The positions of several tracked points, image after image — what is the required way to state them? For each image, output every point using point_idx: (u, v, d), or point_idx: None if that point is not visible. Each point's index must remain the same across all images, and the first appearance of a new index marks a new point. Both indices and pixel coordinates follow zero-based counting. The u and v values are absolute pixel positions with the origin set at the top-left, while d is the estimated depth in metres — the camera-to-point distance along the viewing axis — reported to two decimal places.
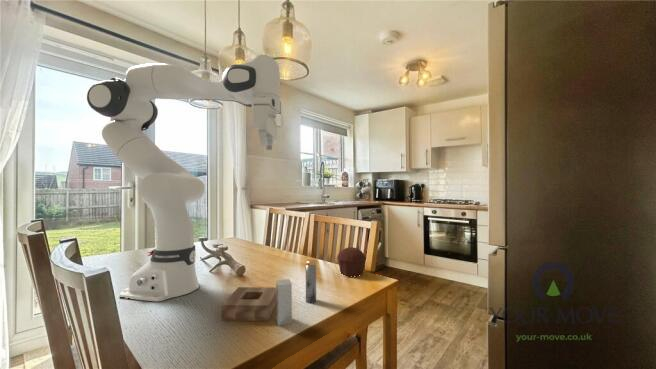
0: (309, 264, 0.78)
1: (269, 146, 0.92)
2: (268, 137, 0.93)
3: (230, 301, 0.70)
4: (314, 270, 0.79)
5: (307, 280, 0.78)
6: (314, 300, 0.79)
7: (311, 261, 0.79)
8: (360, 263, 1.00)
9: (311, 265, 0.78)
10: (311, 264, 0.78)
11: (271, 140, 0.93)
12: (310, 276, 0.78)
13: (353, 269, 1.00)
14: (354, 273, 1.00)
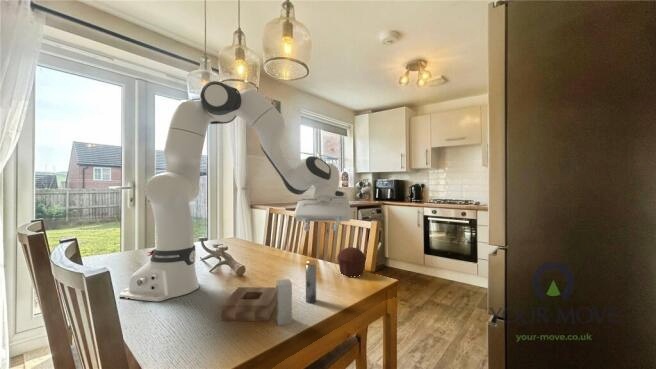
0: (309, 264, 0.78)
1: (308, 227, 0.91)
2: (307, 218, 0.93)
3: (230, 301, 0.70)
4: (314, 270, 0.79)
5: (307, 280, 0.78)
6: (314, 300, 0.79)
7: (311, 261, 0.79)
8: (360, 263, 1.00)
9: (311, 265, 0.78)
10: (311, 264, 0.78)
11: (306, 222, 0.93)
12: (310, 276, 0.78)
13: (353, 269, 1.00)
14: (354, 273, 1.00)
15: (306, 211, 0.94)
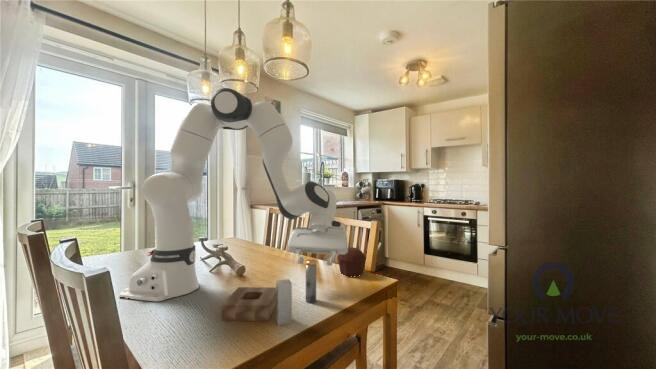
0: (309, 264, 0.78)
1: (302, 260, 0.85)
2: (301, 250, 0.87)
3: (230, 301, 0.70)
4: (314, 270, 0.79)
5: (307, 280, 0.78)
6: (314, 300, 0.79)
7: (311, 261, 0.79)
8: (360, 263, 1.00)
9: (311, 265, 0.78)
10: (311, 264, 0.78)
11: (300, 254, 0.88)
12: (310, 276, 0.78)
13: (353, 269, 1.00)
14: (354, 273, 1.00)
15: (300, 242, 0.88)
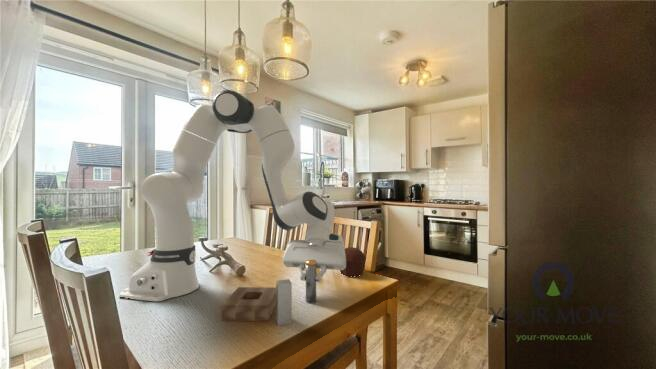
0: (309, 264, 0.78)
1: None
2: (304, 265, 0.82)
3: (230, 301, 0.70)
4: (314, 270, 0.79)
5: (307, 280, 0.78)
6: (314, 300, 0.79)
7: (311, 261, 0.79)
8: (360, 263, 1.00)
9: (311, 265, 0.78)
10: (311, 264, 0.78)
11: (303, 269, 0.82)
12: (310, 276, 0.78)
13: (353, 269, 1.00)
14: (354, 273, 1.00)
15: (295, 257, 0.83)
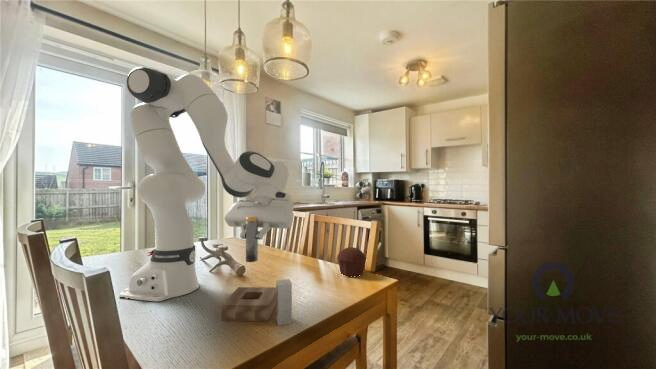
0: (249, 220, 0.72)
1: None
2: None
3: (230, 301, 0.70)
4: (254, 227, 0.73)
5: (247, 237, 0.73)
6: (254, 259, 0.73)
7: (252, 217, 0.73)
8: (360, 263, 1.00)
9: (251, 221, 0.73)
10: (251, 220, 0.73)
11: None
12: (250, 233, 0.72)
13: (353, 269, 1.00)
14: (354, 273, 1.00)
15: (238, 215, 0.78)
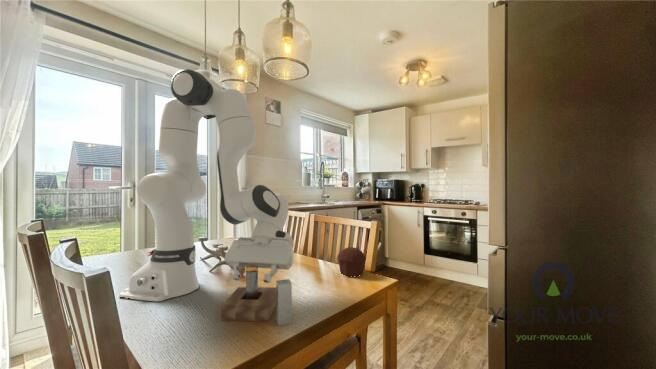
0: (249, 270, 0.72)
1: (239, 275, 0.75)
2: (239, 264, 0.77)
3: (230, 301, 0.70)
4: (254, 277, 0.73)
5: (247, 288, 0.73)
6: None
7: (252, 267, 0.73)
8: (360, 263, 1.00)
9: (251, 271, 0.72)
10: (251, 270, 0.72)
11: (239, 268, 0.77)
12: (250, 283, 0.72)
13: (353, 269, 1.00)
14: (354, 273, 1.00)
15: (238, 255, 0.78)
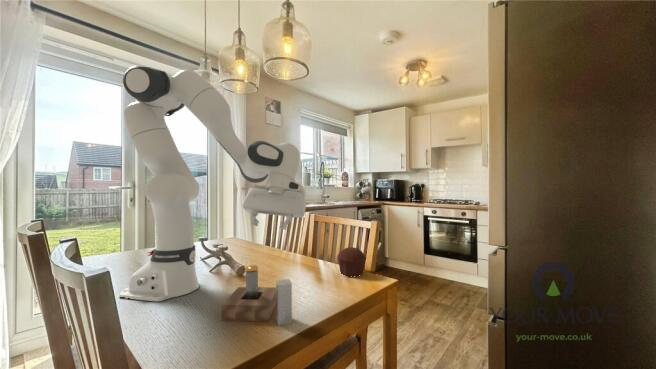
0: (249, 270, 0.72)
1: (257, 222, 0.83)
2: (256, 211, 0.84)
3: (230, 301, 0.70)
4: (254, 277, 0.73)
5: (247, 288, 0.73)
6: None
7: (252, 267, 0.73)
8: (360, 263, 1.00)
9: (251, 271, 0.72)
10: (251, 270, 0.72)
11: (256, 215, 0.85)
12: (250, 283, 0.72)
13: (353, 269, 1.00)
14: (354, 273, 1.00)
15: (255, 204, 0.84)
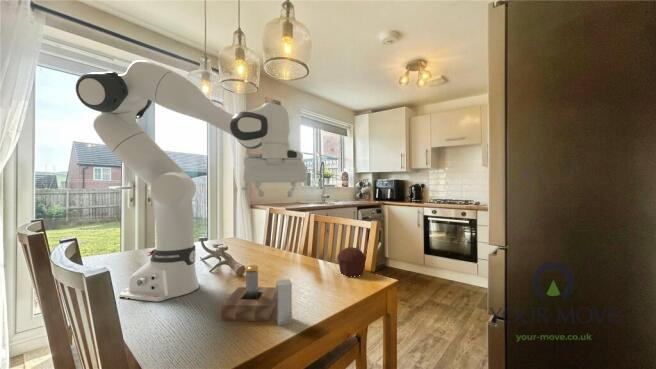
0: (249, 270, 0.72)
1: (263, 193, 0.86)
2: (259, 182, 0.86)
3: (230, 301, 0.70)
4: (254, 277, 0.73)
5: (247, 288, 0.73)
6: None
7: (252, 267, 0.73)
8: (360, 263, 1.00)
9: (251, 271, 0.72)
10: (251, 270, 0.72)
11: (259, 185, 0.87)
12: (250, 283, 0.72)
13: (353, 269, 1.00)
14: (354, 273, 1.00)
15: (256, 176, 0.84)
